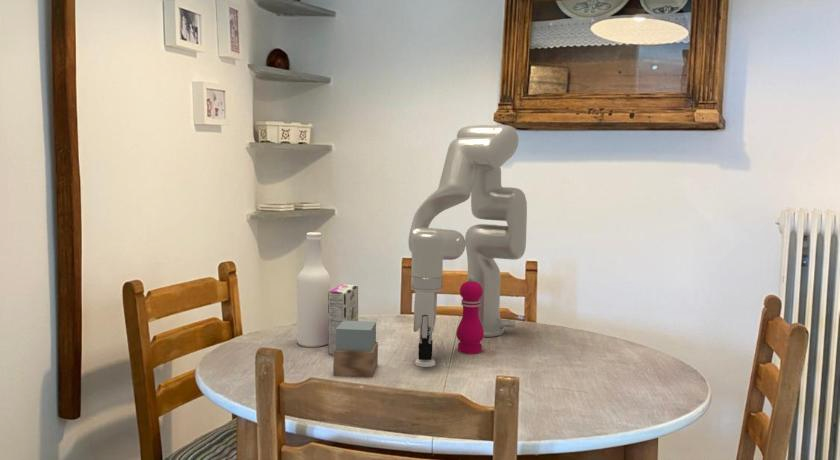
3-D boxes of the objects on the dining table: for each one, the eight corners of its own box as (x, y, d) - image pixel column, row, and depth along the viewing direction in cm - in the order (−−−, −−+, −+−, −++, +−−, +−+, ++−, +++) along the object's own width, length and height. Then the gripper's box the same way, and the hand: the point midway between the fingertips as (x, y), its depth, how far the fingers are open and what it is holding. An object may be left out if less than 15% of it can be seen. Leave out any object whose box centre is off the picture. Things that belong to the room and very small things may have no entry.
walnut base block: (377, 366, 156) (377, 341, 155) (372, 378, 147) (372, 352, 146) (340, 364, 156) (340, 340, 156) (333, 376, 147) (333, 351, 147)
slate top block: (375, 342, 155) (376, 321, 154) (370, 351, 147) (370, 330, 146) (342, 340, 155) (343, 320, 155) (335, 350, 147) (336, 328, 147)
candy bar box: (341, 343, 175) (341, 283, 173) (358, 344, 174) (359, 284, 172) (327, 354, 164) (327, 291, 162) (345, 356, 163) (346, 292, 161)
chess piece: (437, 362, 159) (438, 322, 158) (431, 368, 154) (432, 327, 153) (419, 360, 160) (419, 320, 159) (412, 365, 156) (413, 325, 155)
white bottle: (309, 337, 180) (309, 230, 177) (336, 341, 176) (336, 232, 173) (290, 345, 172) (290, 233, 169) (318, 349, 168) (318, 235, 165)
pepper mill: (487, 349, 171) (489, 274, 169) (478, 356, 165) (480, 278, 163) (461, 345, 174) (463, 272, 172) (451, 352, 168) (453, 276, 166)
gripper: (413, 277, 164) (412, 348, 165) (408, 289, 148) (407, 367, 149) (443, 278, 163) (441, 349, 165) (441, 290, 147) (439, 368, 149)
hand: (425, 357), depth 157 cm, fingers closed on chess piece
